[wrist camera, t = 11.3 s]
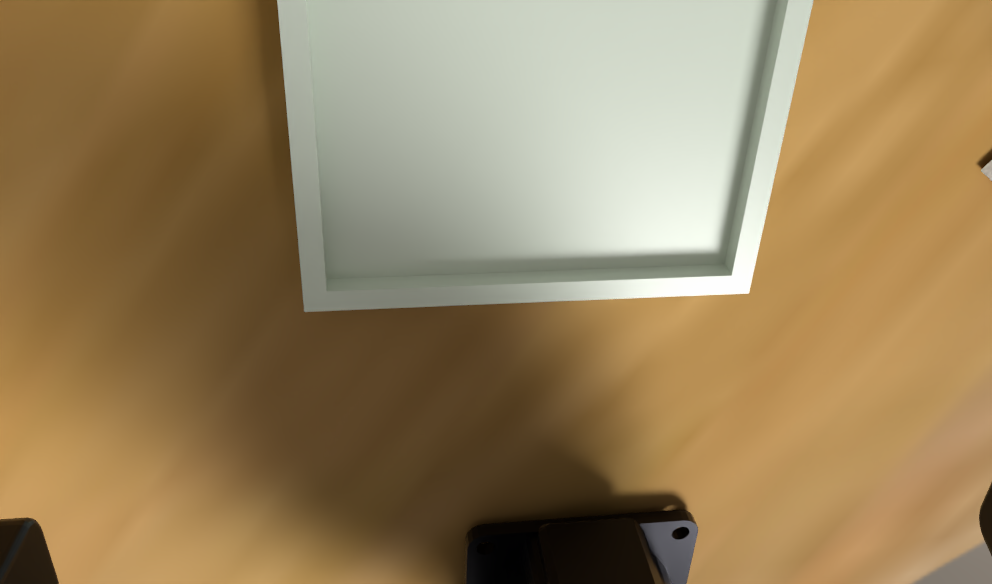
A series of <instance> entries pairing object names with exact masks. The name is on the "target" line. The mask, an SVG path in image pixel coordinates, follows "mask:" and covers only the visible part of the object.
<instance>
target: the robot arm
mask: <svg viewBox="0 0 992 584" xmlns="http://www.w3.org/2000/svg"><path fill="white" fill-rule="evenodd" d="M979 521H980V528H981V532H982V535H983V537H984V540H985V542H986V544H987V546H988V548H989V551H990V553H991V555H992V483H991V485H990V487H989V490H988V492H987V494H986V496H985V499H984V501H983V503H982V505H981V508H980V514H979ZM679 527H680V528H679ZM697 533H698V527H697V525H696V522H695V520H694V517H693V516H692V514H691V513H690V512H688V511H685V510H672V511H659V512H645V513H631V514H618V515H604V516H591V517H577V518H563V519H550V520H536V521H522V522H509V523H495V524H483V525H479V526H476V527H474V528H472V529H471V530H470V531H469V532H468V533H467V536H466V546H465V579H464V584H686V583H687V579H688V574H689V570H690V565H691V561H692V556H693V551H694V547H695V542H696V538H697ZM482 542H488V543H484V544H482ZM0 584H59V582H58V578H57V575H56V572H55V569H54V566H53V563H52V560H51V556H50V553H49V550H48V547H47V544H46V541H45V538H44V535H43V531H42V529H41V527H40V525H39V524H38V522H37V521H36V520H34V519H32V518H14V519H0Z"/></svg>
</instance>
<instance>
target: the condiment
mask: <svg viewBox="0 0 992 584" xmlns="http://www.w3.org/2000/svg"><path fill="white" fill-rule="evenodd" d="M981 172H983V173H984V174H985V175H986V176H987V177H988V178H989V179H990V180H991V181H992V160H991V161H990V162H989V163H988V164H987V165H986V166H985V167H984V168H983V169H981Z"/></svg>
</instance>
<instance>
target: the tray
mask: <svg viewBox="0 0 992 584" xmlns="http://www.w3.org/2000/svg"><path fill="white" fill-rule="evenodd" d="M277 4H278V15H279V27H280V38H281V50H282V61H283V73H284V84H285V96H286V107H287V119H288V131H289V142H290V154H291V165H292V177H293V188H294V200H295V211H296V223H297V234H298V246H299V257H300V269H301V280H302V292H303V303H304V312H315V311H339V310H363V309H387V308H411V307H434V306H458V305H482V304H506V303H530V302H554V301H578V300H601V299H625V298H649V297H673V296H697V295H721V294H744V293H749V290H750V286H751V281H752V277H753V272H754V267H755V263H756V258H757V254H758V249H759V245H760V240H761V236H762V231H763V227H764V222H765V218H766V213H767V208H768V204H769V199H770V195H771V190H772V186H773V181H774V177H775V172H776V168H777V163H778V159H779V154H780V149H781V145H782V140H783V136H784V131H785V127H786V122H787V118H788V113H789V109H790V104H791V100H792V95H793V91H794V86H795V81H796V77H797V72H798V68H799V63H800V59H801V54H802V50H803V45H804V41H805V36H806V32H807V27H808V22H809V18H810V13H811V9H812V4H813V0H277Z"/></svg>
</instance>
